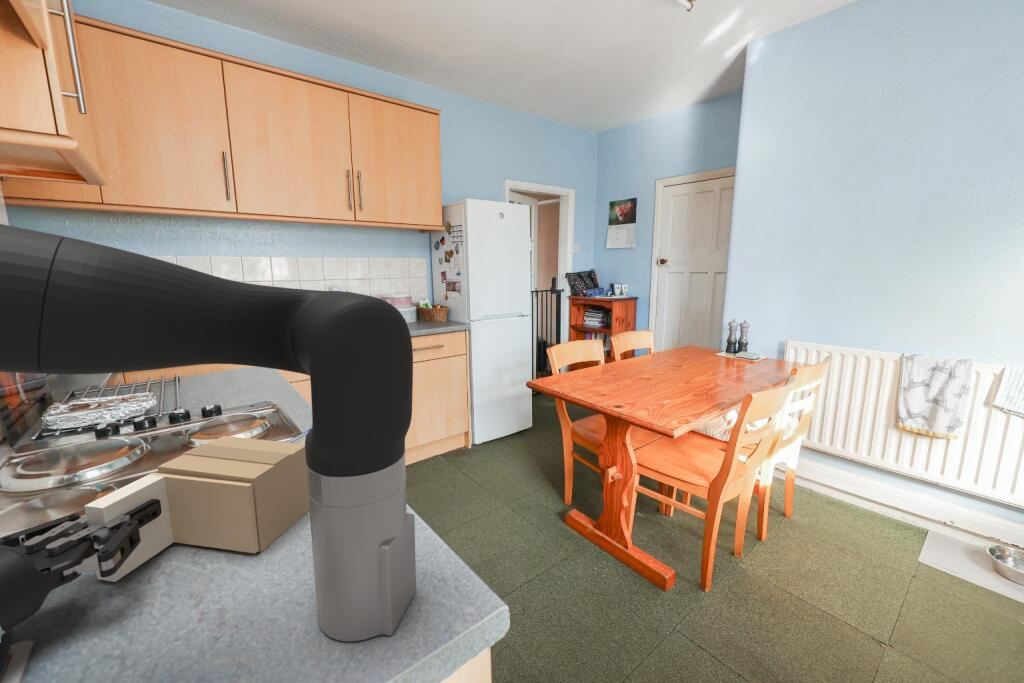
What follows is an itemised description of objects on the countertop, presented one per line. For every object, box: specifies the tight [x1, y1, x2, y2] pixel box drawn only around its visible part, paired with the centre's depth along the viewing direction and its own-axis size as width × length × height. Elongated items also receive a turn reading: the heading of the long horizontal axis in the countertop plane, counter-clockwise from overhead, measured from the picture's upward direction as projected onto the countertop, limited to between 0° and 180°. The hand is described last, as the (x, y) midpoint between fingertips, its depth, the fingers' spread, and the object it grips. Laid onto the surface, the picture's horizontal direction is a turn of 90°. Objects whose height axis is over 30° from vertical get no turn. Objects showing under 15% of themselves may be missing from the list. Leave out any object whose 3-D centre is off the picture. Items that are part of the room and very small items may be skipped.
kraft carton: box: [157, 435, 310, 553], centre depth 59 cm, size 14×10×10 cm
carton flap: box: [83, 472, 259, 583], centre depth 50 cm, size 14×8×9 cm, turn 81°
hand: (146, 504), depth 52 cm, fingers closed on carton flap, 2 cm apart
